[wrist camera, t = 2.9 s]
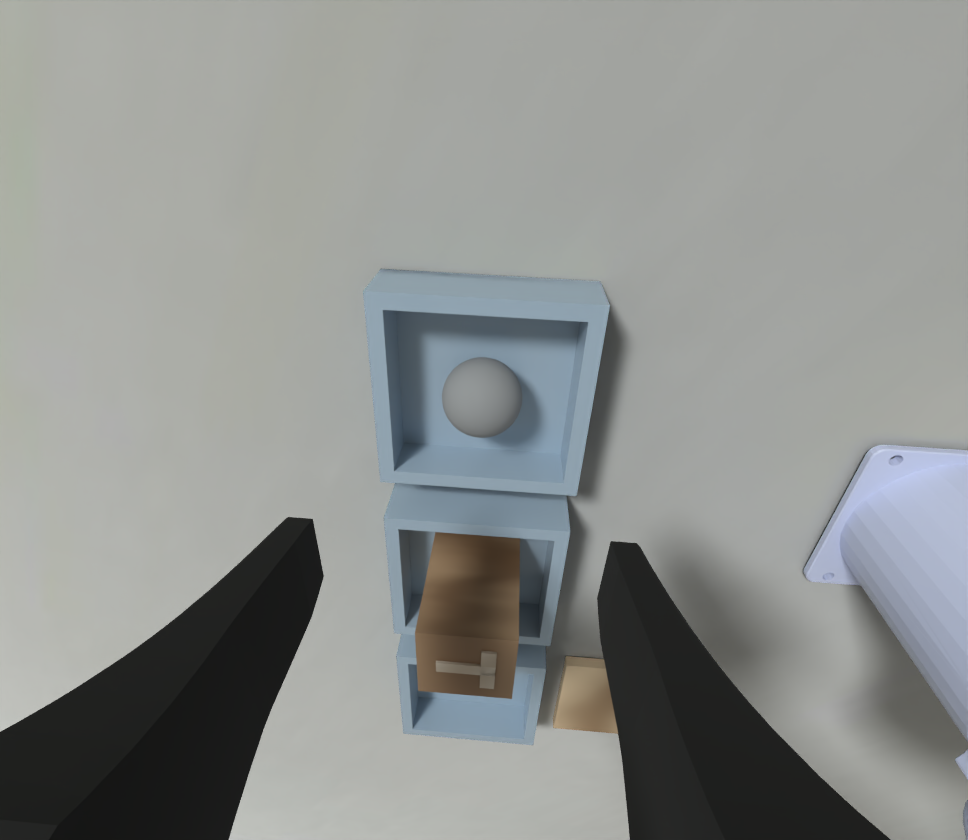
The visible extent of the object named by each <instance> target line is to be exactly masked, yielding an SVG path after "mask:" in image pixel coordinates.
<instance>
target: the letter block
mask: <svg viewBox="0 0 968 840" xmlns="http://www.w3.org/2000/svg"><path fill="white" fill-rule="evenodd" d="M519 585H520V538H508V537H495V536H482V535H469V534H455V533H442V532H435V536H434V541H433V546H432V551H431V556H430V561H429V566H428V571H427V575H426V580H425V585H424V590H423V595H422V600H421V605H420V610H419V615H418V620H417V625H416V630H415V643H416V661H417V679H418V691H425V692H437V693H449V694H460V695H472V696H483V697H495V698H506V699H512V694H513V686H514V678H515V669H516V661H517V653H518V644H519Z"/></svg>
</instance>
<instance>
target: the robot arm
mask: <svg viewBox="0 0 968 840" xmlns="http://www.w3.org/2000/svg"><path fill="white" fill-rule="evenodd" d="M893 456H895V458H893V459H891V457H893ZM803 572H804V575H805V576H806V578H807V579H808V580H809V581H812V582H823V583H836V584H849V585H861V586H862V588H863V589H864V591H865V592H866V593H867V595H868V596H869V598H870V599H871V601H872V602H873V604H874V605H875V607H876V608H877V610H878V611H879V613H880V614H881V616H882V617H883V618H884V620H885V621H886V623H887V624H888V626H889V627H890V629H891V630H892V632H893V633H894V635H895V636H896V638H897V639H898V641H899V642H900V644H901V645H902V646H903V648H904V649H905V651H906V652H907V654H908V655H909V657H910V658H911V660H912V661H913V663H914V664H915V666H916V667H917V669H918V670H919V671H920V673H921V674H922V676H923V677H924V679H925V680H926V682H927V683H928V685H929V686H930V688H931V689H932V691H933V692H934V694H935V695H936V696H937V698H938V699H939V701H940V702H941V704H942V705H943V707H944V708H945V710H946V711H947V713H948V714H949V716H950V717H951V719H952V720H953V722H954V723H955V724H956V726H957V727H958V729H959V730H960V732H961V733H962V735H963V736H964V738H965V739H966V741H967V742H968V450H955V449H940V448H925V447H910V446H895V445H878V446H875V447H873V448H871V449H870V450H869V451H868V452H867V453H866V455H865V457H864V459H863V461H862V462H861V464H860V466H859V468H858V470H857V472H856V474H855V475H854V477H853V479H852V481H851V483H850V485H849V486H848V488H847V490H846V492H845V494H844V496H843V498H842V499H841V501H840V503H839V505H838V507H837V509H836V511H835V512H834V514H833V516H832V518H831V520H830V522H829V524H828V525H827V527H826V529H825V531H824V533H823V535H822V537H821V538H820V540H819V542H818V544H817V546H816V548H815V550H814V551H813V553H812V555H811V557H810V559H809V561H808V562H807V564H806V566H805V568H804V571H803ZM323 577H324V576H323V571H322V565H321V560H320V555H319V550H318V544H317V539H316V534H315V529H314V524H313V519H306V518H293V517H288V518H286V519H285V520H284V521H283V522H282V523H281V524H280V525H279V526H278V527H277V528H276V529H275V530H274V531H272V532H271V533H270V534H269V535H268V536H267V537H266V538H265V539H264V540H263V541H262V542H261V543H260V544H259V545H258V546H257V547H256V548H255V549H254V550H253V551H252V552H251V553H250V554H248V555H247V556H246V557H245V558H244V559H243V560H242V561H241V562H240V563H239V564H238V565H237V566H236V567H234V568H233V569H232V570H231V571H230V572H229V573H228V574H227V575H226V576H225V577H224V578H222V579H221V580H220V581H219V582H218V583H217V584H216V585H215V586H214V587H212V588H211V589H210V590H209V591H208V592H207V593H205V594H204V595H203V596H202V597H201V598H199V599H198V600H197V601H196V602H195V603H193V604H192V605H191V606H190V607H189V608H188V609H186V610H185V611H184V612H183V613H182V614H180V615H179V616H178V617H177V618H175V619H174V620H173V621H172V622H170V623H169V624H168V625H166V626H165V627H164V628H163V629H161V630H160V631H159V632H157V633H156V634H155V635H153V636H152V637H151V638H149V639H148V640H147V641H145V642H144V643H142V644H141V645H140V646H138V647H137V648H136V649H134V650H133V651H131V652H130V653H129V654H127V655H126V656H124V657H123V658H121V659H120V660H118V661H117V662H115V663H114V664H112V665H111V666H109V667H108V668H106V669H104V670H103V671H101V672H100V673H98V674H97V675H95V676H94V677H92V678H91V679H89V680H88V681H86V682H85V683H83V684H82V685H80V686H79V687H77V688H75V689H74V690H72V691H70V692H69V693H67V694H65V695H64V696H62V697H60V698H59V699H57V700H55V701H54V702H52V703H50V704H49V705H47V706H45V707H44V708H42V709H40V710H38V711H37V712H35V713H33V714H31V715H30V716H28V717H26V718H24V719H23V720H21V721H19V722H17V723H16V724H14V725H12V726H10V727H8V728H7V729H5V730H3V731H1V732H0V840H229V836H230V833H231V829H232V826H233V822H234V819H235V816H236V813H237V809H238V806H239V803H240V800H241V797H242V793H243V790H244V787H245V784H246V781H247V777H248V774H249V771H250V768H251V765H252V762H253V759H254V756H255V753H256V750H257V747H258V744H259V741H260V738H261V735H262V732H263V729H264V726H265V724H266V721H267V719H268V716H269V714H270V711H271V709H272V706H273V704H274V702H275V699H276V697H277V695H278V693H279V690H280V688H281V686H282V683H283V681H284V679H285V677H286V674H287V672H288V670H289V668H290V665H291V663H292V661H293V659H294V656H295V654H296V652H297V649H298V647H299V645H300V643H301V640H302V638H303V636H304V633H305V631H306V629H307V626H308V624H309V622H310V619H311V617H312V614H313V611H314V607H315V604H316V601H317V598H318V594H319V591H320V587H321V584H322V580H323ZM597 600H598V614H599V628H600V639H601V645H602V651H603V656H604V662H605V667H606V672H607V678H608V683H609V688H610V693H611V699H612V704H613V709H614V714H615V719H616V725H617V730H618V735H619V741H620V748H621V754H622V762H623V771H624V781H625V791H626V801H627V812H628V823H629V834H630V840H890V839H889V838H888V837H887V836H886V835H884V834H883V833H882V832H881V831H880V830H879V829H877V828H876V827H875V826H874V825H873V824H872V823H870V822H869V821H868V820H867V819H866V818H865V817H863V816H862V815H861V814H860V813H859V812H858V811H856V810H855V809H854V808H853V807H852V806H851V805H850V804H849V803H848V802H847V801H845V800H844V799H843V798H842V797H841V796H840V795H839V794H838V793H837V792H836V791H835V790H834V789H833V788H832V787H830V786H829V785H828V784H827V783H826V782H825V781H824V780H823V779H822V778H821V777H820V776H819V775H818V774H817V773H816V772H815V771H814V770H813V769H812V768H811V767H810V766H809V765H808V764H807V763H806V762H805V761H804V760H803V759H802V758H801V757H800V756H799V755H798V754H797V753H796V752H795V751H794V750H793V749H792V748H791V747H790V746H789V745H788V744H787V743H786V742H785V741H784V740H783V739H782V738H781V737H780V736H779V735H778V734H777V733H776V732H775V731H774V730H773V729H772V727H771V726H770V725H769V724H768V723H767V722H766V721H765V720H764V719H763V717H762V716H761V715H760V714H759V713H758V712H757V711H756V710H755V709H754V707H753V706H752V705H751V704H750V703H749V702H748V701H747V699H746V698H745V697H744V696H743V695H742V694H741V692H740V691H739V690H738V689H737V688H736V687H735V685H734V684H733V683H732V682H731V680H730V679H729V678H728V677H727V676H726V674H725V673H724V672H723V671H722V669H721V668H720V667H719V665H718V664H717V663H716V662H715V660H714V659H713V658H712V656H711V655H710V654H709V652H708V651H707V650H706V648H705V647H704V646H703V644H702V643H701V642H700V640H699V639H698V637H697V636H696V635H695V633H694V632H693V630H692V629H691V628H690V626H689V625H688V623H687V622H686V620H685V619H684V617H683V616H682V614H681V613H680V611H679V610H678V608H677V607H676V605H675V604H674V602H673V601H672V599H671V598H670V596H669V595H668V593H667V592H666V590H665V588H664V587H663V585H662V583H661V582H660V580H659V579H658V577H657V575H656V574H655V572H654V570H653V569H652V567H651V565H650V564H649V562H648V560H647V558H646V557H645V555H644V553H643V551H642V549H641V548H640V546H639V545H638V544H637V543H626V542H613V541H611V543H610V547H609V551H608V555H607V560H606V564H605V568H604V572H603V576H602V581H601V585H600V589H599V593H598V598H597ZM955 761H956V763H957V764H958V766H959V767H960V769H961V770H962V772H963V774H964V775H965V777H966V778H967V780H968V749H967V750H966V751H965V752H964V753H963V754H961V755H960V756H958V757H956V759H955ZM963 825H964V830H965V835H966V840H968V800H967V801H966V803H965V807H964V810H963Z"/></svg>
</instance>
